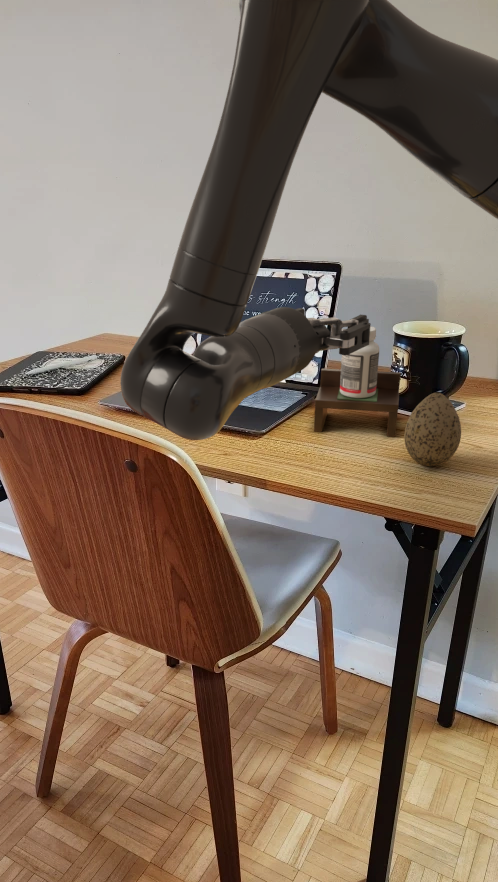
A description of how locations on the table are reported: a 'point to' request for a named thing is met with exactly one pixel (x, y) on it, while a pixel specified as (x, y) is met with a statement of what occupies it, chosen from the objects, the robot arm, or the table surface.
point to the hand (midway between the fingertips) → (332, 319)
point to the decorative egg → (433, 431)
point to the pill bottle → (360, 370)
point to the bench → (380, 401)
